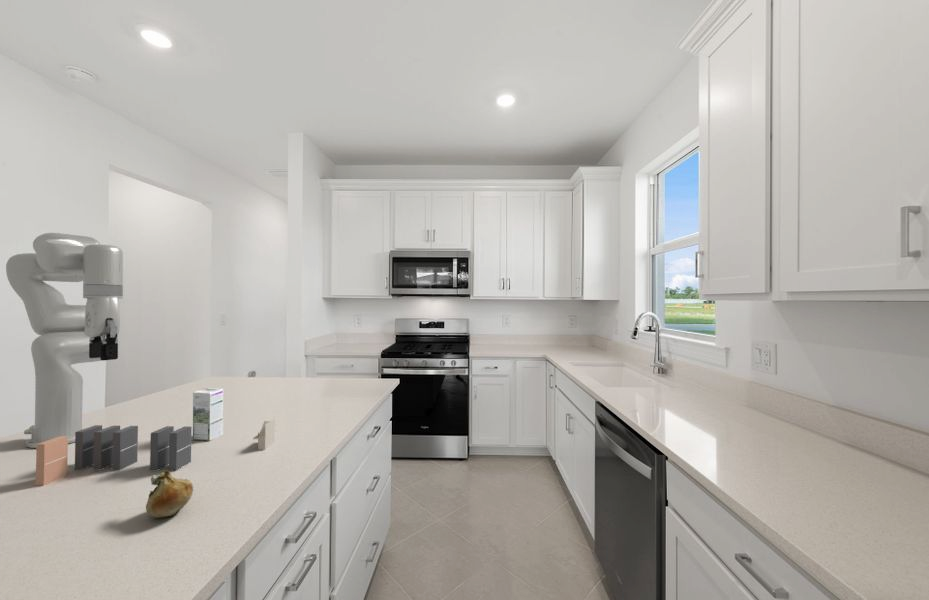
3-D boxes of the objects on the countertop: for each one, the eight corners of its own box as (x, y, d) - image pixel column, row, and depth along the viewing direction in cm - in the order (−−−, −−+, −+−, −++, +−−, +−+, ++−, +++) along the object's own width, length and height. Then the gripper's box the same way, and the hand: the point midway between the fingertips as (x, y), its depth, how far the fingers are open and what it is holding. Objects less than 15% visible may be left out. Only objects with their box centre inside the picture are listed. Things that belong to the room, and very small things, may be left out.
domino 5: (149, 470, 93) (150, 432, 93) (166, 461, 98) (166, 426, 98) (157, 470, 93) (158, 433, 93) (173, 462, 98) (173, 426, 98)
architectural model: (252, 451, 106) (252, 425, 106) (264, 442, 113) (264, 417, 113) (264, 451, 106) (265, 425, 106) (276, 442, 113) (276, 417, 113)
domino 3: (93, 469, 93) (94, 432, 93) (112, 461, 98) (113, 425, 98) (100, 469, 93) (101, 432, 93) (119, 461, 98) (120, 425, 98)
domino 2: (74, 469, 93) (75, 431, 93) (94, 461, 98) (95, 425, 98) (82, 469, 93) (82, 432, 93) (101, 461, 98) (102, 425, 98)
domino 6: (168, 470, 93) (169, 433, 93) (183, 462, 98) (184, 426, 98) (176, 470, 93) (176, 433, 93) (190, 462, 98) (191, 426, 98)
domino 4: (112, 470, 93) (112, 432, 93) (130, 461, 98) (130, 425, 98) (119, 470, 93) (120, 432, 93) (137, 461, 98) (137, 425, 98)
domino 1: (35, 485, 85) (36, 444, 85) (59, 475, 90) (60, 436, 90) (43, 485, 85) (44, 444, 85) (67, 475, 90) (67, 436, 90)
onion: (136, 529, 69) (137, 485, 69) (152, 507, 76) (152, 467, 76) (186, 520, 72) (187, 478, 72) (197, 500, 79) (197, 462, 79)
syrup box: (223, 434, 118) (224, 387, 118) (209, 441, 112) (210, 392, 112) (206, 433, 118) (207, 387, 119) (191, 440, 113) (192, 391, 113)
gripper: (74, 293, 100) (74, 358, 100) (93, 291, 91) (93, 362, 90) (111, 294, 107) (111, 355, 106) (133, 291, 97) (133, 358, 97)
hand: (103, 358), depth 98 cm, fingers open, 9 cm apart
